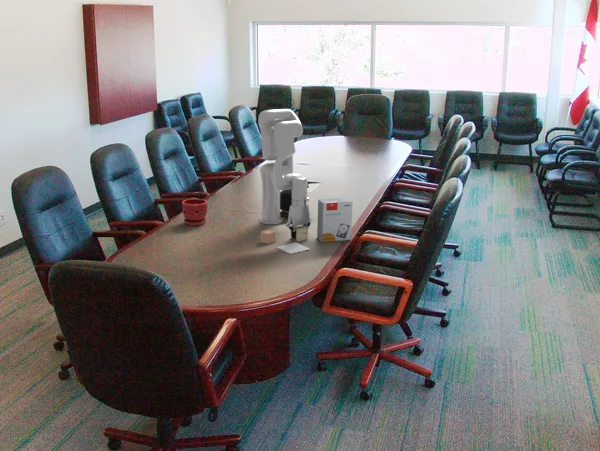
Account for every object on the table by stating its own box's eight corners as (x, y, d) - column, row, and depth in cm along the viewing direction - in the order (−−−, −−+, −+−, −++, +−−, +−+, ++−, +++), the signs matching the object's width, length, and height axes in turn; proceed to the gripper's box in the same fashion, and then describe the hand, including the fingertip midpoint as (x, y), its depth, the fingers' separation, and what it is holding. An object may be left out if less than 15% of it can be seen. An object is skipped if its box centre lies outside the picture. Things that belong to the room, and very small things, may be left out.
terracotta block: (260, 241, 320) (260, 232, 318) (267, 239, 323) (267, 229, 322) (268, 243, 317) (268, 234, 315) (275, 241, 320) (275, 231, 319)
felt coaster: (277, 247, 311) (277, 246, 311) (296, 243, 317) (296, 242, 317) (290, 254, 302) (290, 253, 302) (309, 250, 308) (309, 248, 308)
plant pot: (205, 226, 342) (205, 204, 338) (180, 226, 342) (179, 204, 338) (209, 219, 354) (208, 198, 350) (185, 219, 354) (184, 197, 351)
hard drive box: (321, 242, 318) (321, 203, 312) (316, 237, 325) (317, 199, 319) (351, 240, 322) (352, 201, 316) (346, 235, 329) (347, 197, 323)
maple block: (290, 238, 325) (290, 226, 323) (300, 236, 328) (300, 224, 326) (297, 241, 320) (297, 229, 318) (307, 239, 323) (307, 227, 322)
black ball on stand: (273, 213, 365) (273, 187, 361) (294, 210, 370) (295, 185, 366) (282, 220, 354) (282, 193, 349) (304, 217, 359) (305, 190, 355)
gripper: (309, 197, 326) (309, 232, 332) (280, 203, 317) (280, 238, 322) (318, 201, 320) (317, 236, 326) (289, 206, 311) (289, 242, 316)
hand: (299, 237), depth 324 cm, fingers closed on maple block, 6 cm apart
